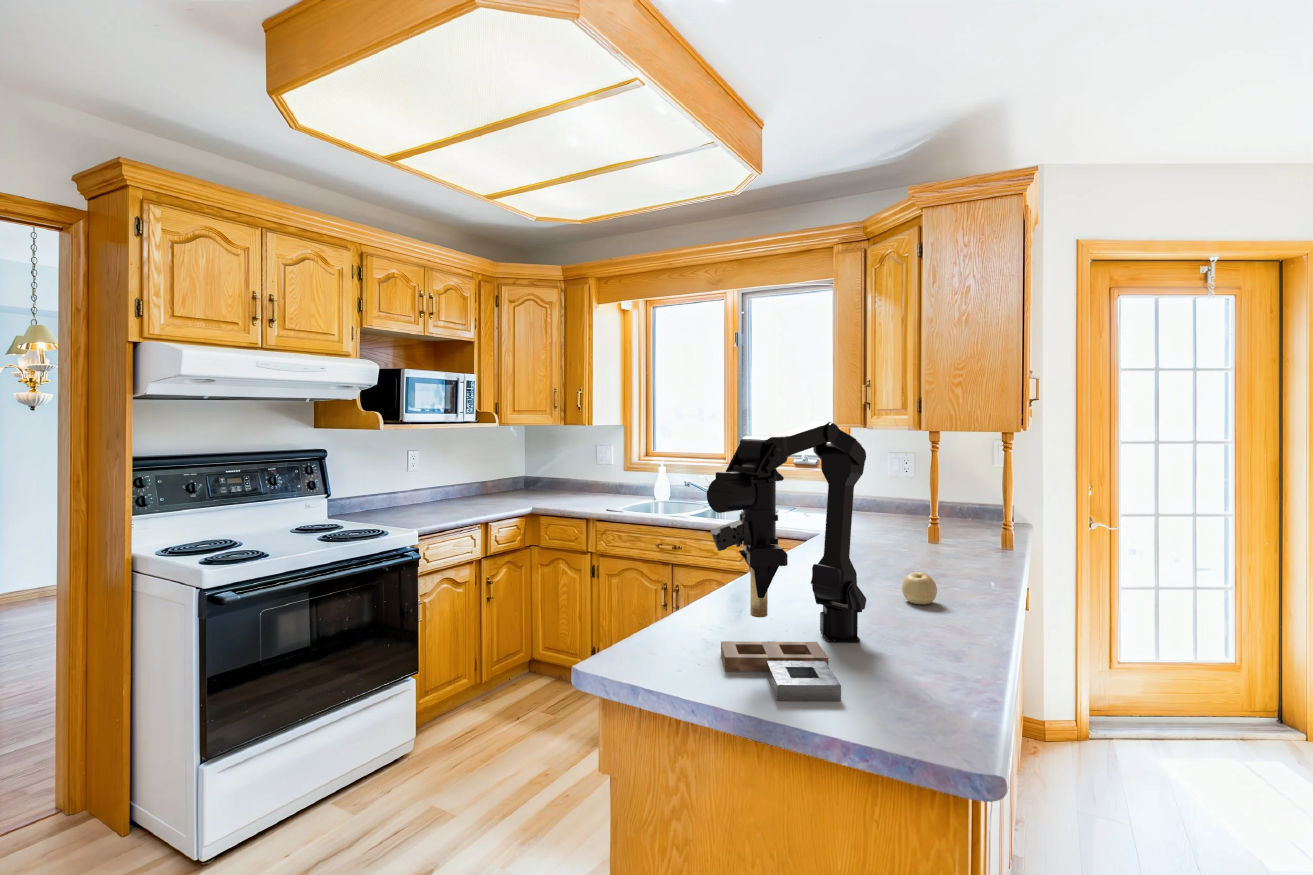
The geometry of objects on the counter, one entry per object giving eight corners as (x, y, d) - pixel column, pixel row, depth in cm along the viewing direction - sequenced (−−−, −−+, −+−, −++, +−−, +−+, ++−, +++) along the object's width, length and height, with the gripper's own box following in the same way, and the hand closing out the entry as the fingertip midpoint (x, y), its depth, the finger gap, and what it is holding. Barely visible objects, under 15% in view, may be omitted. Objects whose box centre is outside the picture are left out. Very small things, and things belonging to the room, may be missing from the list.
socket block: (824, 675, 110) (824, 660, 110) (841, 701, 100) (841, 685, 100) (766, 675, 110) (766, 660, 110) (777, 700, 100) (777, 684, 100)
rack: (817, 655, 119) (817, 641, 119) (828, 671, 111) (828, 657, 111) (720, 654, 119) (720, 641, 119) (725, 671, 111) (725, 657, 111)
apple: (933, 596, 157) (943, 574, 153) (928, 617, 151) (938, 594, 147) (901, 583, 160) (910, 561, 156) (894, 603, 154) (904, 580, 150)
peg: (765, 612, 115) (765, 562, 114) (769, 617, 112) (769, 566, 111) (749, 612, 115) (749, 562, 114) (751, 617, 112) (752, 566, 111)
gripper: (708, 500, 122) (708, 581, 122) (719, 515, 103) (719, 611, 104) (766, 500, 122) (766, 581, 122) (788, 515, 103) (788, 610, 104)
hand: (759, 595), depth 113 cm, fingers closed on peg, 3 cm apart
